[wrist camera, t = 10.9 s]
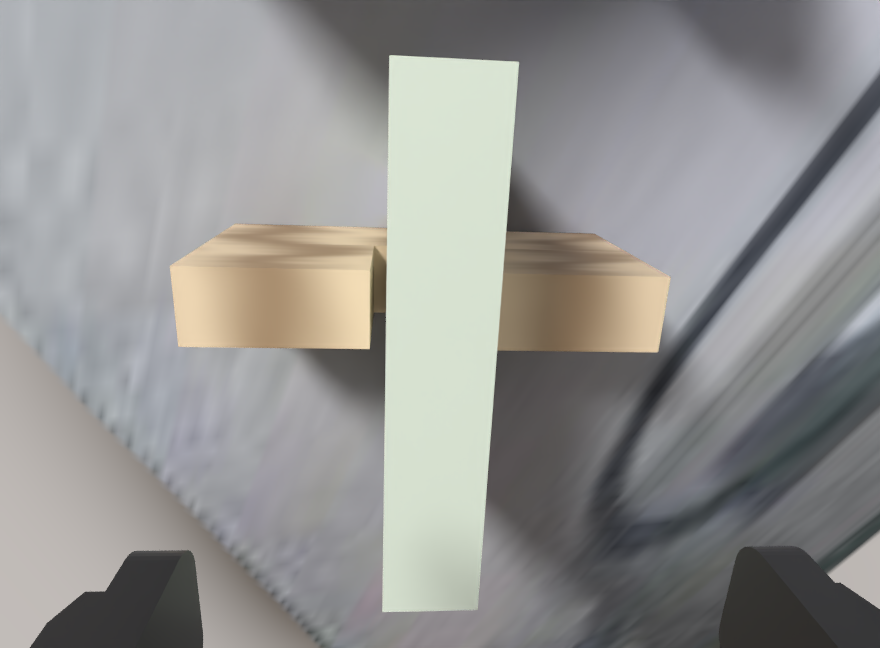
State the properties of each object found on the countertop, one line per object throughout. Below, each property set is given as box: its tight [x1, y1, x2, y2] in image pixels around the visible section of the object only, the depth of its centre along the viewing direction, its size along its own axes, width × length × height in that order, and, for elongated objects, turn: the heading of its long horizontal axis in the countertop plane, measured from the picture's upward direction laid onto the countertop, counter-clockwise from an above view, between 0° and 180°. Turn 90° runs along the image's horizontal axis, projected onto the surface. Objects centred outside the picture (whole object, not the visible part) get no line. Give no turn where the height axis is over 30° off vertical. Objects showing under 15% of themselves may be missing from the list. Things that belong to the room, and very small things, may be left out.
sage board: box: [382, 55, 519, 612], centre depth 23 cm, size 3×16×15 cm, turn 178°
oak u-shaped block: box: [170, 224, 671, 352], centre depth 26 cm, size 18×3×9 cm, turn 88°
